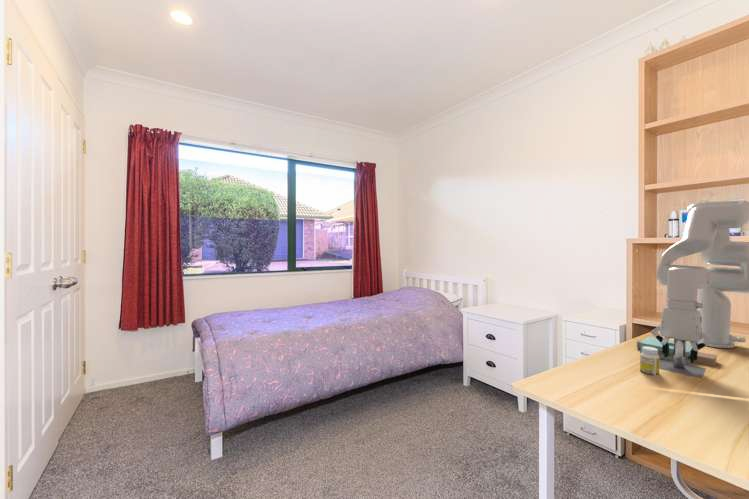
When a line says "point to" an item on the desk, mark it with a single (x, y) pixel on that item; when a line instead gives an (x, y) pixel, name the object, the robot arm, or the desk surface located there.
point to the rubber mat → (688, 369)
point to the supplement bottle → (649, 361)
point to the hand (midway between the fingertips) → (679, 358)
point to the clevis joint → (655, 343)
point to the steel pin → (679, 354)
